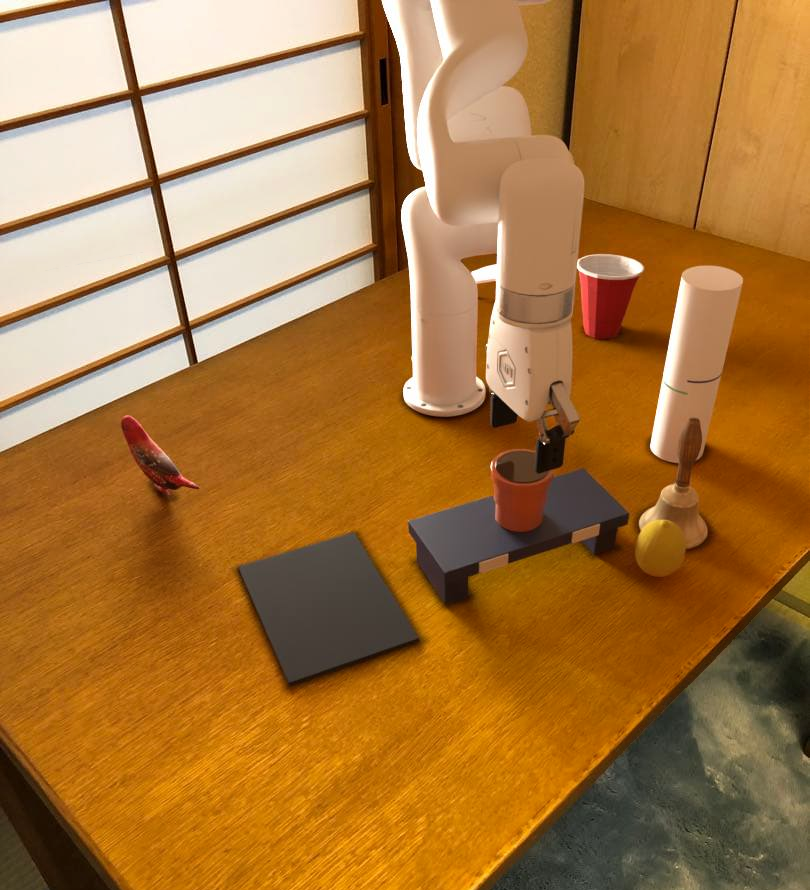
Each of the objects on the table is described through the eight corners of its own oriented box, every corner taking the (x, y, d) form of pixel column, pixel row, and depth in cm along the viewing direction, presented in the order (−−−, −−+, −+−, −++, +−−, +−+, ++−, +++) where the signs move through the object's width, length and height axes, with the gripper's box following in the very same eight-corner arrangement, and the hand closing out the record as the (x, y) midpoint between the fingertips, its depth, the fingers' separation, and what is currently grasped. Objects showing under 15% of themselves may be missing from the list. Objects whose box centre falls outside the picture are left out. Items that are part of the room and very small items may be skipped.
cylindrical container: (704, 465, 119) (745, 292, 103) (650, 460, 120) (682, 288, 104) (701, 436, 124) (740, 267, 108) (650, 432, 126) (680, 264, 109)
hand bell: (668, 558, 105) (693, 448, 95) (625, 520, 111) (643, 412, 100) (721, 536, 108) (751, 427, 98) (676, 500, 114) (699, 393, 103)
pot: (478, 508, 104) (479, 457, 99) (530, 492, 106) (534, 441, 101) (506, 542, 99) (509, 491, 94) (560, 525, 101) (566, 474, 96)
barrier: (409, 558, 107) (407, 520, 103) (578, 505, 113) (583, 467, 110) (445, 612, 99) (445, 574, 96) (624, 552, 106) (631, 513, 102)
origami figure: (499, 315, 155) (500, 289, 151) (455, 307, 157) (455, 281, 154) (522, 288, 163) (524, 262, 159) (480, 281, 166) (481, 255, 162)
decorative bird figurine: (144, 466, 123) (127, 405, 116) (217, 521, 113) (203, 458, 107) (126, 475, 122) (108, 414, 115) (198, 532, 112) (183, 468, 105)
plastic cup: (644, 325, 150) (654, 257, 142) (619, 351, 143) (629, 282, 136) (585, 311, 155) (592, 244, 147) (559, 336, 148) (565, 268, 140)
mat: (238, 570, 106) (237, 566, 106) (354, 535, 110) (353, 531, 110) (289, 686, 92) (288, 683, 92) (419, 641, 96) (419, 638, 96)
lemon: (669, 596, 100) (682, 544, 95) (623, 580, 103) (633, 527, 97) (685, 568, 104) (698, 516, 99) (640, 553, 106) (650, 501, 101)
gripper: (460, 273, 90) (459, 416, 101) (547, 343, 77) (535, 498, 88) (524, 259, 92) (516, 401, 103) (618, 325, 80) (598, 478, 91)
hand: (525, 445), depth 96 cm, fingers open, 9 cm apart
